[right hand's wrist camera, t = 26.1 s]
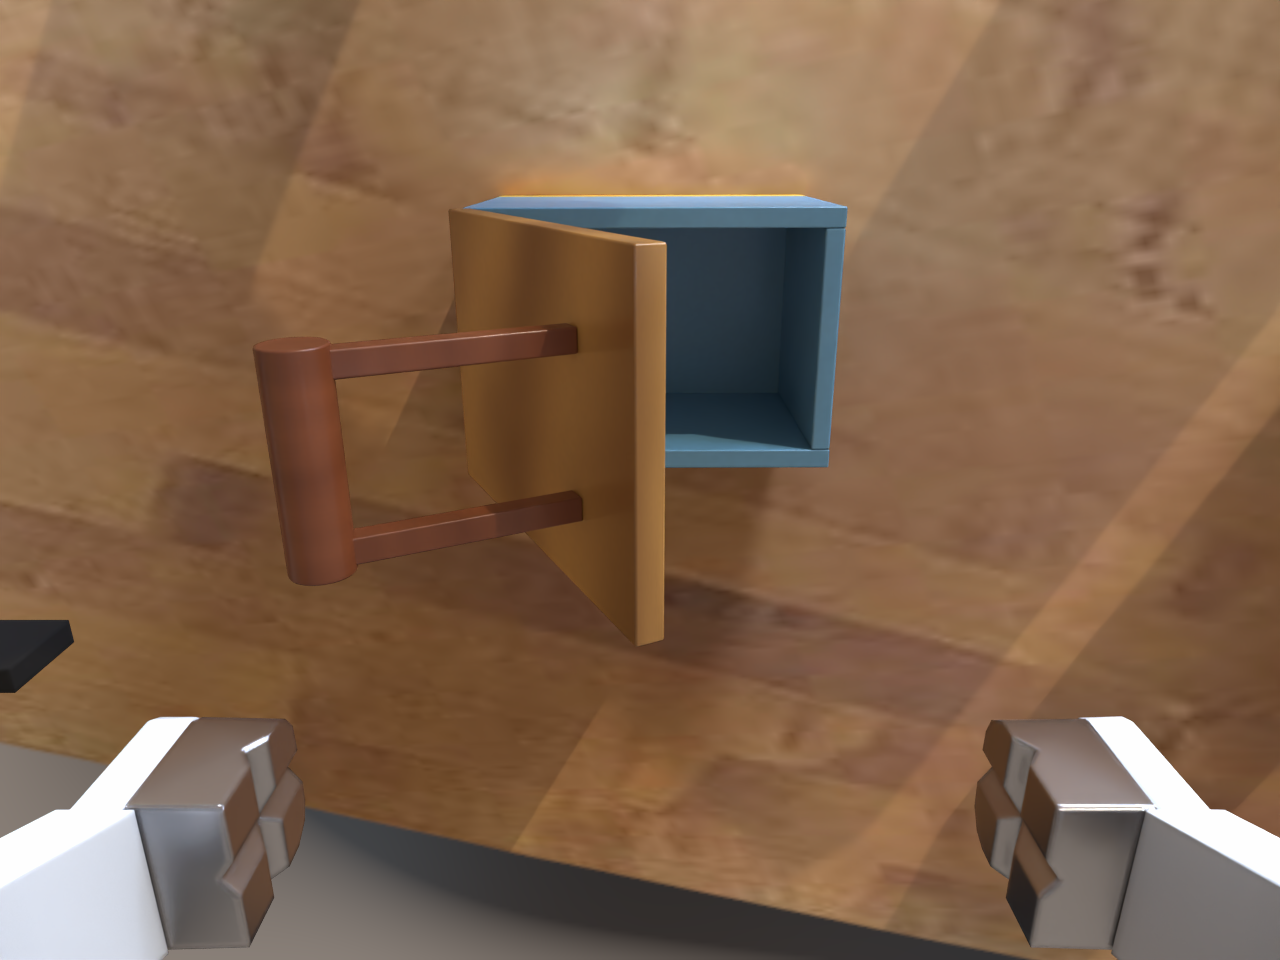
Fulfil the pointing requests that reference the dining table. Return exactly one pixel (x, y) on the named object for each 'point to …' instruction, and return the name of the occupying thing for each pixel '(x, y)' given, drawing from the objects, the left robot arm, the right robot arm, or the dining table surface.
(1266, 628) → the dining table surface
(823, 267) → the chest
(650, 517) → the lid
